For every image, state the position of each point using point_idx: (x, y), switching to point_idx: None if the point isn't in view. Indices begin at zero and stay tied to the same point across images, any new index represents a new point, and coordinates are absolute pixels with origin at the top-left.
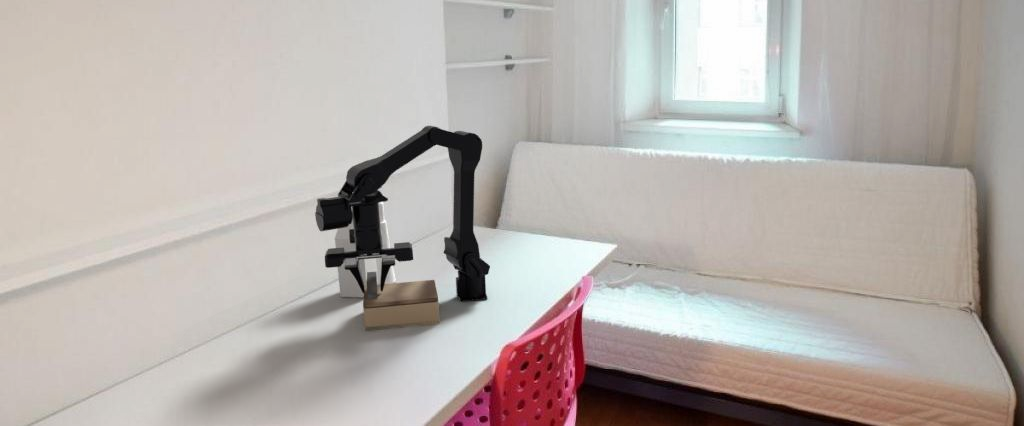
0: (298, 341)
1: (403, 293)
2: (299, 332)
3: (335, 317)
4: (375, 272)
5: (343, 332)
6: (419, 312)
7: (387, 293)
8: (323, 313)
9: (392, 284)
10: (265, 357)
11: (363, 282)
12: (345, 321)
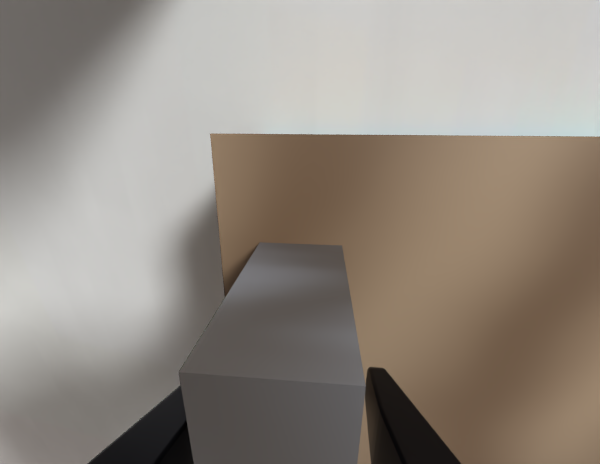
0: (56, 372)
1: (534, 421)
2: (27, 303)
3: (122, 184)
4: (346, 428)
5: (192, 349)
6: None
7: (412, 384)
8: (45, 108)
9: (507, 173)
10: (7, 438)
11: (190, 444)
12: (179, 246)
